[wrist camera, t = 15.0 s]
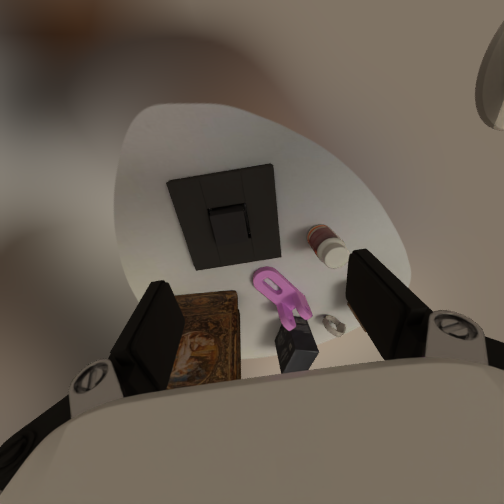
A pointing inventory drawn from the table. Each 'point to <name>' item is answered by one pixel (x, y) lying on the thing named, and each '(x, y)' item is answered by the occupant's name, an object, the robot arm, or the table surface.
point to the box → (296, 347)
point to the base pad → (223, 194)
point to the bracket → (282, 296)
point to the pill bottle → (328, 246)
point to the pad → (229, 224)
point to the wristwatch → (339, 325)
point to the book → (208, 340)
